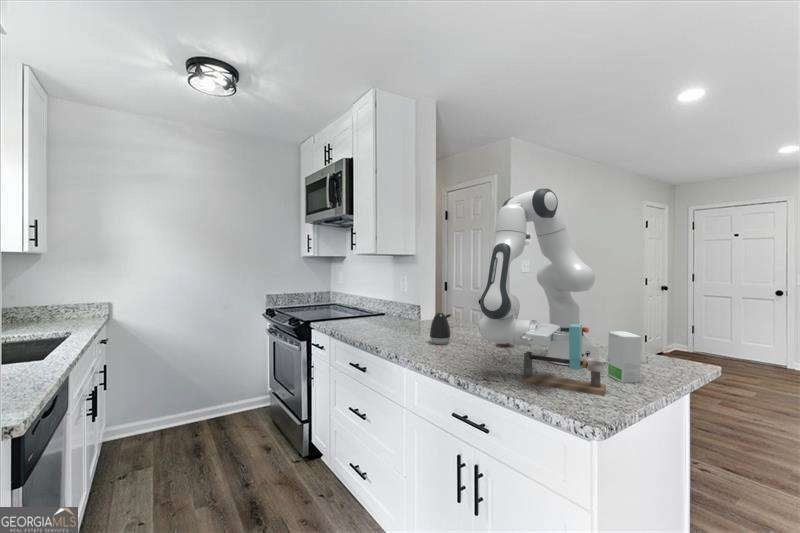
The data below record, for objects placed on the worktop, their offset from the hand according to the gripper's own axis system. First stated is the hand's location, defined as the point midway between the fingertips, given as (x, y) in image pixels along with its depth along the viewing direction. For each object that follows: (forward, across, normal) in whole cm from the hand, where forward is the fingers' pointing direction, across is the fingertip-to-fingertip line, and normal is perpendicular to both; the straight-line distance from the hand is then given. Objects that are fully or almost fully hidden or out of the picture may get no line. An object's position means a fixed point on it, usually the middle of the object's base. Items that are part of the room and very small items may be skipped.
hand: (570, 337), depth 122 cm
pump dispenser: (-64, +35, +16) cm, 75 cm away
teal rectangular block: (+2, 0, +10) cm, 10 cm away
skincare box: (+14, +18, +16) cm, 28 cm away
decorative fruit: (-36, +46, +16) cm, 60 cm away
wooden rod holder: (-2, 0, +16) cm, 16 cm away
